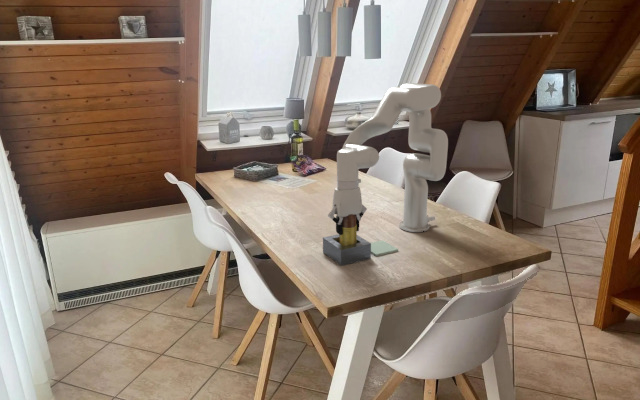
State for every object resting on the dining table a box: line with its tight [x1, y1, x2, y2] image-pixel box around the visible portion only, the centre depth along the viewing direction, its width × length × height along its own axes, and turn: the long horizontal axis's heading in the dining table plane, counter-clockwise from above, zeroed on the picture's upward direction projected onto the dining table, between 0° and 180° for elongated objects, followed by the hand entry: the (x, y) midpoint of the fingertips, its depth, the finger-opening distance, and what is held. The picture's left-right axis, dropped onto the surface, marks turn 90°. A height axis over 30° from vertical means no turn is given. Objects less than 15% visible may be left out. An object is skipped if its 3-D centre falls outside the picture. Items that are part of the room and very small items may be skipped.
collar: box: [322, 233, 372, 267], centre depth 179 cm, size 12×13×6 cm
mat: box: [370, 239, 399, 257], centre depth 185 cm, size 10×10×1 cm
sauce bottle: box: [339, 214, 358, 246], centre depth 176 cm, size 7×6×20 cm
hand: (347, 231), depth 177 cm, fingers closed on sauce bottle, 6 cm apart
